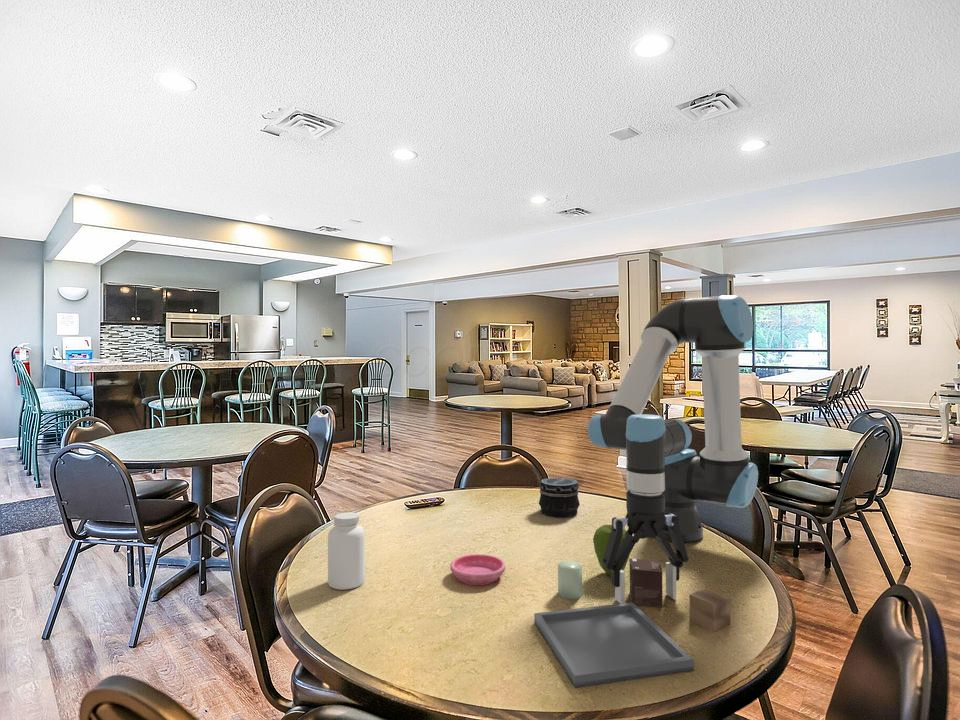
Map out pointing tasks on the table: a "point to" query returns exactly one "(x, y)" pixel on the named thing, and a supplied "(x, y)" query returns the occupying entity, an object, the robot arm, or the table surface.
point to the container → (559, 497)
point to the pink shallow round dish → (477, 569)
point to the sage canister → (569, 580)
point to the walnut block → (710, 609)
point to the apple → (605, 544)
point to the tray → (610, 644)
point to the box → (646, 582)
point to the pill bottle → (346, 552)
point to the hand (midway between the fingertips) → (645, 598)
